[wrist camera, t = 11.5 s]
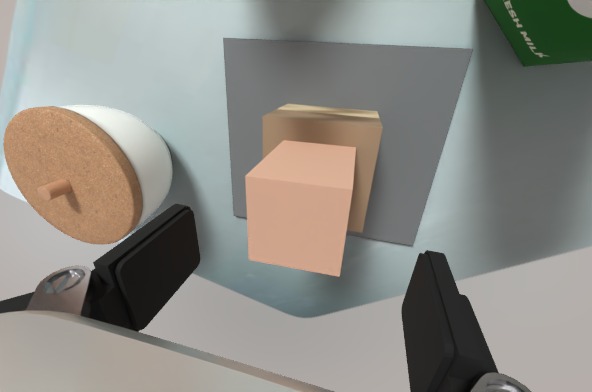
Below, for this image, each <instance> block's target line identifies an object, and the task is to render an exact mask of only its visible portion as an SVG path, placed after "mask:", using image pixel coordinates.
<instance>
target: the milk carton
mask: <svg viewBox="0 0 592 392" xmlns="http://www.w3.org/2000/svg"><path fill="white" fill-rule="evenodd" d="M484 1H485V2H486V4H487V6H488V7H489V9H490V11H491V12H492V14H493V16H494V17H495V19H496V21H497V22H498V24H499V26H500V27H501V29H502V31H503V33H504V34H505V36H506V38H507V39H508V41H509V43H510V44H511V46H512V48H513V49H514V51H515V53H516V54H517V56H518V58H519V59H520V61H521V63H522V64H523V66H524V67H525V66H535V65H547V64H559V63H570V62H581V61H592V0H484Z"/></svg>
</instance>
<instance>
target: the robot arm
mask: <svg viewBox="0 0 592 392" xmlns="http://www.w3.org/2000/svg"><path fill="white" fill-rule="evenodd" d="M93 263H94V266H95V269H94V270H92V271H91V270H90V269H89V268H87V267H85V266H71V267H67V268H64V269H60V270H58V271H56V272H54V273H52V274H50V275H49V276H47V277H46V278H44V279H43V280H42V281H41V282H40V283H39V285H38V286H37V288H36V290H35V292H32V293H29V294H25V295H21V296H18V297H14V298H11V299H7V300H3V301H0V392H334V391H330V390H327V389H324V388H321V387H318V386H314V385H311V384H308V383H305V382H301V381H298V380H295V379H292V378H288V377H285V376H282V375H279V374H275V373H272V372H269V371H266V370H263V369H259V368H256V367H253V366H249V365H246V364H243V363H239V362H236V361H233V360H230V359H226V358H223V357H219V356H216V355H213V354H210V353H206V352H203V351H200V350H197V349H193V348H190V347H186V346H183V345H180V344H177V343H173V342H170V341H166V340H163V339H160V338H156V337H153V336H150V335H146V334H143V333H139V332H138V331H139V330H142V329H144V328H145V327H146V326H147V325H148V324H149V323H150V321H151V320H152V319H153V318H154V317H155V315H156V314H157V313H158V312H159V311H160V310H161V309H162V307H163V306H164V305H165V304H166V303H167V302H168V300H169V299H170V298H171V297H172V296H173V295H174V293H175V292H176V291H177V290H178V289H179V288H180V286H181V285H182V284H183V283H184V282H185V281H186V279H187V278H188V277H189V276H190V275H191V274H192V272H193V271H194V270H195V269H196V268H197V267H198V265H199V263H200V253H199V246H198V240H197V233H196V226H195V219H194V213H193V211H192V210H191V209H190V207H188V206H184V205H179V204H175V205H173V206H171V207H170V208H169V209H167V210H166V211H164V212H163V213H162V214H160V215H159V216H157V217H156V218H155V219H153V220H152V221H150V222H149V223H148V224H146V225H145V226H143V227H142V228H141V229H139V230H138V231H136V232H135V233H134V234H132V235H131V236H129V237H128V238H127V239H125V240H124V241H123V242H121V243H120V244H118V245H117V246H116V247H114V248H113V249H111V250H110V251H109V252H107V253H106V254H104V255H103V256H102V257H100V258H99V259H97V260H96V261H95V262H93ZM402 321H403V330H404V338H405V347H406V356H407V364H408V373H409V381H410V390H411V392H531V391H530V390H529V389H528V388H527V387H526V386H524V385H523V384H521V383H520V382H518V381H517V380H515V379H513V378H511V377H509V376H507V375H504V374H499V373H498V370H497V368H496V365H495V363H494V360H493V358H492V355H491V353H490V351H489V348H488V346H487V343H486V341H485V338H484V336H483V333H482V331H481V328H480V326H479V323H478V321H477V319H476V316H475V314H474V311H473V309H472V306H471V304H470V302H469V300H468V298H467V297H466V296H465V295H461V294H459V291H458V289H457V286H456V283H455V281H454V278H453V275H452V273H451V270H450V267H449V265H448V262H447V259H446V257H445V255H444V254H443V253H439V252H433V251H428V250H427V251H426V252H425V253H424V254H422V253H420V254H419V256H418V259H417V262H416V265H415V268H414V271H413V274H412V277H411V280H410V283H409V286H408V289H407V292H406V295H405V298H404V301H403V304H402Z"/></svg>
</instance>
